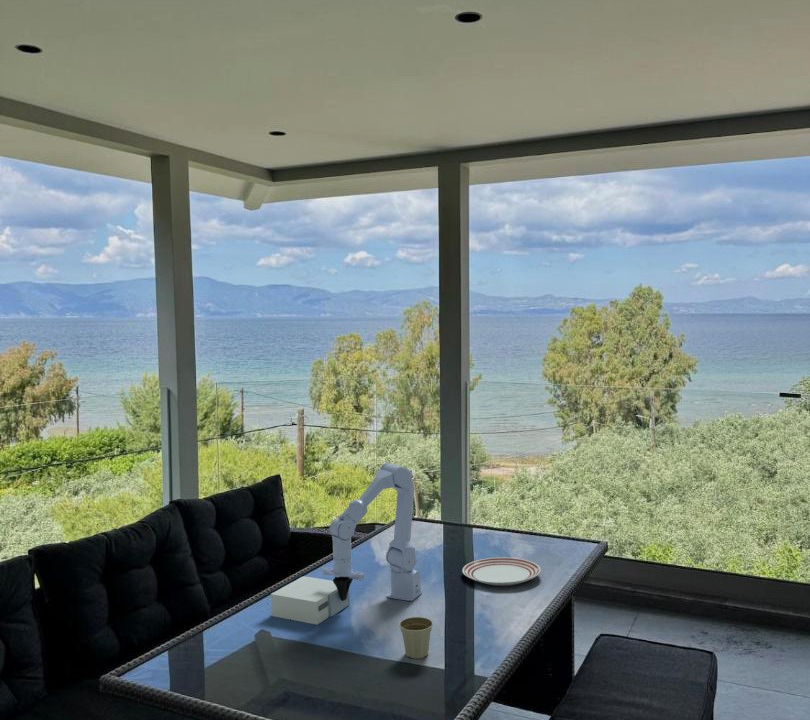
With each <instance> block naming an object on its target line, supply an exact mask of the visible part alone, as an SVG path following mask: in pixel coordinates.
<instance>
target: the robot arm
mask: <svg viewBox="0 0 810 720" xmlns="http://www.w3.org/2000/svg"><path fill="white" fill-rule="evenodd" d="M412 478H413V472H412V471H410V469H409V468H408V467H406V466H401V465H397V464H394V463H392V462H391V463H390V462H385V463H383V464H381V466H380V468H379V469H378V470H377V471H376V473H375V477H374V478H373V479H372V481H371V482H370V483H369V485H368V487H367V488H366V489H365V491H364V492H363V493H362V495H361V496H360V498H359V499H353V500H352V501H350V502H349V503H348V506H347V507H346V509H345V510H343V512H342V514H340V515H339V516H338V518H335V519H333V520H332V522H331V523H330V525H329V527H328V532H329V534H330V535H331V538H332V539H331V540H332V556H333V557H332V559H333V560H332V561H333V567H326V566H325V567H323V568H322V569H321V576H333V577H334V578H333V579H332V581H333V583H334V584H335V586H336V587H337V590H338V592H339V595H340V599H341V601H344V600H346V599H347V593H348V590H349V591H350V586H351V584H352V582H353V580H358V581H359V582H362V581H364V580H365V572H361V571H358V570H355V569H353V568H352V567H353V566H352V565H353V563H352V562H353V561H352V559H353V558H352V537H353V536H354V534H355V532H356V528H357V525H358V524H359V523H360V521H361V520H362V519H363V517H365V516H366V514H367V513H368V506H369V505H370V504H371V503H372V502H373V501H374V500H375V499H376V498H377V497H378V496H379V494H380V493H382V492H383V490H385V489H391V488H393V489H394V490H395V491H396V493H397V495H396V505H395V506H396V507H395V519H394V520H395V522H394V533H393V536H394V537H393V540H391V541H390V542H389V544H388V545H389V546H388V549H387V551H386V553H385V559H386V562H387V564H389V568H390V593H388V594H386V595H385V596H386V598H389V599H395V600H402V601H408V602H413V601H414V600H415V599H416V598H418V597H419V596H420V595H422V592H421V591H422V590H421V589H422V588H421V573H420V572H419V570H415V569H414V568H415V566H417V561H418V560H417V556H416V547H415V545H414V544H413V542H412V541H411V538H412V525H413V523H412V522H413V511H414V509H413V508H414V499H415V498H414V497H415V496H414V495H415V485H414V483H413V479H412Z"/></svg>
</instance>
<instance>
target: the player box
mask: <svg viewBox="0 0 810 720" xmlns="http://www.w3.org/2000/svg"><path fill="white" fill-rule="evenodd" d="M335 591H337V587H336V586H335V584H334V583H333V580H331V579H330V580H329V579H324V578H317V577H312V576H311V577H310V576H304V575H303V576H301V577H299V578H297V579H296V580H294V581H291V582H290V583H288V584H286V585H284V586H283V587H281V588H279V589H277V590H276V591H274V592H272V593H270V609H271V615H270V616H271V617H275V618H279V619H280V618H281V619H284V620H290V619H291V621H295V622H296V621H297V622H302V623H306V624H312V625H317V626H318V625H319V624H320V623H322V622H324V621H325V620H326V619H328V618H330V617H329V595H330V594H332V593H333V592H335Z"/></svg>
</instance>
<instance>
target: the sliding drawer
mask: <svg viewBox="0 0 810 720" xmlns="http://www.w3.org/2000/svg"><path fill="white" fill-rule="evenodd" d="M350 604H351V602H350V589H349V590H348V593H347V599H346V600H344V601H341V599H340V595H339V592H338V590H337V591H335V592H333V593H332V594H330V595H329V617H328V618H332V617H333V616H335V615H336V614H338V613H339V612H341V611H342V610H343V609H345V608H347V607H349V606H350Z"/></svg>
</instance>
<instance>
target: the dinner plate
mask: <svg viewBox="0 0 810 720" xmlns="http://www.w3.org/2000/svg"><path fill="white" fill-rule="evenodd" d="M541 571H542V568H541V566H540V565H538V564H537V563H536V562H533V561H530V560H529V559H528V560H527V559H523V558H516V557H506V556H505V557H501V556H500V557H499V556H498V557H488V558H483V559H477V560H473V561H471V562H469V563H467V564H465V565H464V566H463V567H462V569H461V572H462V575H464V576H465V577H467V578H469V579H471V580H473V581H475V582H477V583H482V584H485V585H491V586H497V587H500V586H501V587H507V586H515V585H519V584H522V583H526V582H528V581H530V580H533V579H534V578H536V577H537V576H538V575H540V574H541Z"/></svg>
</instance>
